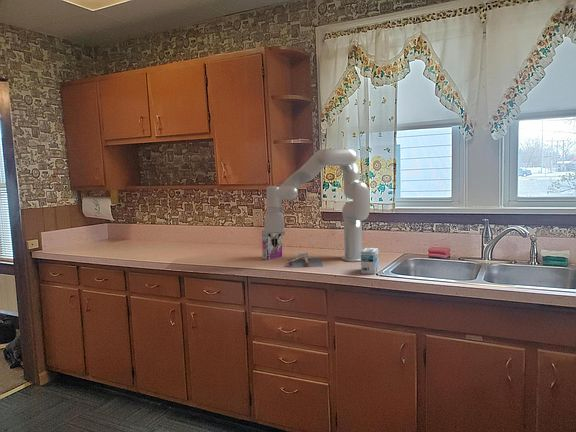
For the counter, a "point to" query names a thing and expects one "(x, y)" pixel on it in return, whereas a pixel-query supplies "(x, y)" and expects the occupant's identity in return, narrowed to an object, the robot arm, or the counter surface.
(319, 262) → the mat
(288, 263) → the tong arm
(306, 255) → the lock tab
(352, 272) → the counter surface
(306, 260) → the tongs fixed
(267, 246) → the candy bar box
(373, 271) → the light bulb box
